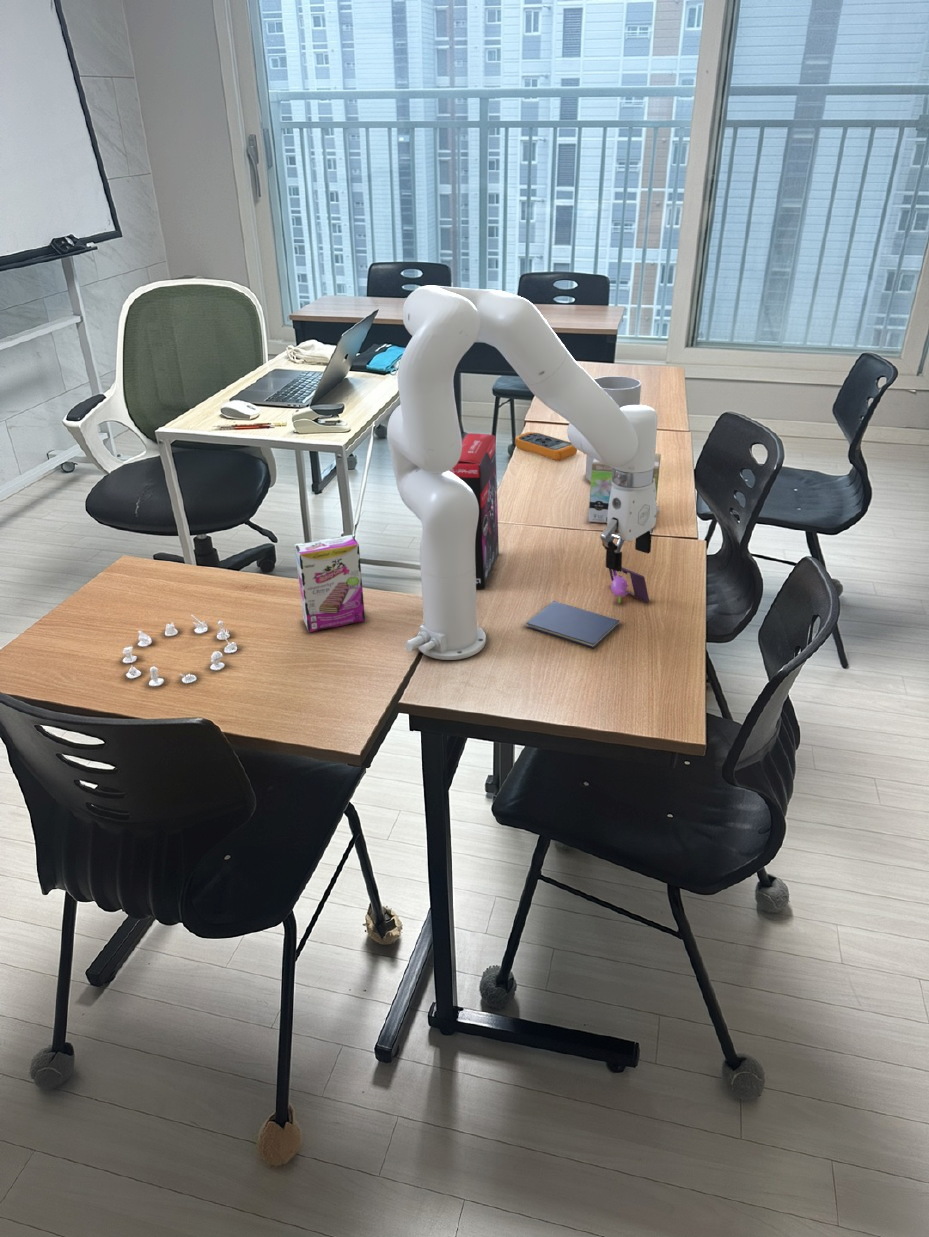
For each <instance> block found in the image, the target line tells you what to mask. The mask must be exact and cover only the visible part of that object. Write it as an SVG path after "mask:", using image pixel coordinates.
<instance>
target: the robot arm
mask: <svg viewBox="0 0 929 1237" xmlns="http://www.w3.org/2000/svg"><path fill="white" fill-rule="evenodd" d="M401 313H402V314H401V315H402V317H401V318H402V321H403V326H404V327H405V329H406V330H407V332H408V333H409V335H411V336H412V337H411V339H410V340H409V342H408V344H407V345H406V347H405V349H404V351H403V353H402V355H401V358H400V360H399V364H398V369H397V388H398V394H399V395H398V396H399V402H400V403H399V405H398V406H396V408H394V409H393V411H392V413H391V415H390V417H389V419H388V422H387V429H386V437H387V445H388V449H389V454H390V459H391V464H392V469H393V470H392V471H393V473H394V480H395V483H396V487H397V491H398V494H399V497H400V499H401V501H402V503H403V504H404V505H405V506H406V508H407V509H408V510H409V511H410V512H412V514H414V515H415V517H416V518H417V519H418V520H419V521H420V523H421V527H422V530H421V531H422V532H421V538H420V543H419V567H420V580H421V581H420V583H421V596H422V597H421V598H422V599H421V600H422V615H423V624H421V625H419V631H418V633H417V634H416V636H415V637H412V638H411V639H409V640H406V641H405V643H404V648H405V650H406V651H407V652H409V653H411V652H413V651H415V650H417V649H418V651H419V652H420V653H422V654H423V655H425V656H426V657H429V658H432V659H436V660H441V661H457V660H463V659H467V658H470V657H473V656H475V655H476V654H478V653H480V652H481V651H482V650H483V649H484V647H485V646H486V643H487V635H486V632H485V631H484V630H483V628H481V627H480V626H479V625H478V614H477V612H478V610H477V589H476V566H475V538H476V529H477V524H478V517H479V506H478V501H477V498H476V496H475V494H474V493H473V491H472V490H471V488H470V487H469V486H468V485H467V484H466V483H465V482H464V481H463V480H461V479H460V478H459V477H457V476H456V475H455V474H453V473H452V472H450V471H449V470H451V469H452V468H454V467H455V466H456V464H457V463H458V461H459V459H460V456H461V452H462V439H463V437H462V433H461V428H460V422H459V416H458V410H457V404H456V397H455V388H454V379H455V378H454V376H455V372H456V369H457V366H458V364H459V363H460V361H461V360H462V358H463V356H464V355H466V353H467V352H468V351H469V350H470V349H471V347H472V346H473V345H474V344H475V343H484V344H487V345H489V346H491V347H494V348H495V349H496V350H497V351H498V352H499V353H500V354H501V355H502V357H503V358H505V360H506V362H507V363H508V364H509V365H510V366H511V367H512V369H513V370H514V371H515V372H516V374H517V375H518V376H519V377H520V379H521V380H522V381H523V383H524V385H526V387H527V388H528V389H529V390H530V392H531V393H532V395H533V396H535V397H536V399H538V400H539V401H540V402H541V403H543V405H545V406H546V407H548V408H549V409H550V410H552V411H553V412H554V413H555V414H558V415H559V416H561V417H563V419H565V420H566V421H567V422H568V426H567V430H566V431H567V432H566V433H567V434H566V435H567V438H568V442H570V443H571V444H572V445H573V446H574V447H575V448H576V449H577V451H579V452H580V453H583V454H584V455H588V456H590V457H592V458H594V459H596V460H598V461H599V462H601V463H603V464H605V465H607V466H610V467H612V485H613V486H612V488H611V493H610V499H609V506H608V516H607V523H606V527H605V528H604V530H602V532H601V533H600V537H599V538H600V540H601V542H602V547H603V548H604V550H605V568H606V569H608V570H609V569H611V570H612V571H613V570H615V571H616V572H617V573H618V572H620V571H621V569H622V567H623V551H621V550H622V547H623V545H624V543H625V542H626V543H629V542H632V541H634V540H635V542H634V544H635V546H634V549H635V551H637V552H641V553H645V554H647V555H648V554H650V553H651V551H652V539H653V538H652V536H653V533H654V531H655V529H654V527H655V526H656V524H657V523H656V522H657V515H658V512H659V506H658V505H657V499H656V486H655V480H654V465H655V454H656V451H657V450H656V448H657V437H658V436H657V434H658V433H657V432H658V419H659V418H658V413H657V411H656V410H655V409H654V408H653V407H651V406H647V405H642V404H640V405H629V406H625V407H622V408H619V406H618V405H617V404H616V403H615V402H614V400H613V399H612V398H611V397H610V396H609V395H608V394H607V393H606V392H605V391H604V390H603V389H602V388H601V387H600V386H599V385H598V384H597V383H596V382H595V381H594V380H593V379H594V378H593V377H592V376H591V375H590V374H589V373H588V372H587V371H586V370H585V369H584V368H583V367H582V366H581V365H580V364H579V363H578V362H577V361H576V360H575V358H574V357H573V356H572V354H571V353H570V352H569V350H568V349H567V348H566V346H565V344H564V343H563V342H562V341H561V339H560V338H559V337H558V335H557V334H556V332H555V331H554V330H553V328H552V327H551V326H550V324H549V323H548V321H547V319H545V317H544V316H543V314H542V313H541V312H540V310H539V309H538V308H537V307H536V306H535V305H534V304H533V303H532V302H531V301H529V299H526V298H525V297H521V296H520V295H516V294H513V293H510V292H507V291H504V290H498V289H485V288H469V287H456V286H444V285H443V286H442V285H424V286H420V287H418V288H416V289H414V290H413V291H411V293H410V294H409V295H408V296H407V298H406V299H405V301H404V304H403V306H402V312H401ZM614 540H617V542H616V544H615V543H614ZM621 572H622V571H621Z"/></svg>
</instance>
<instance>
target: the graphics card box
mask: <svg viewBox="0 0 929 1237" xmlns="http://www.w3.org/2000/svg"><path fill="white" fill-rule="evenodd" d="M496 444H497V443H496V435H494V434H489V433H488V434H487V433H477V432H476V433H475V432H474V433H473V432H465V434H464V436H463V437H462V452H461V456H460V459H459V461H458V463H457V464H456V466H455V467H454V468H452V469H451V470H449V471H450V472H452V473H453V474H455V475H456V476H457V477H459V478H460V479H461V480H463V481H464V482H465V483H466V484H467V485H468V486H469V487H470V488H471V490H472V491H473V493H474V494H475V496H476V498H477V501H478V506H479V517H478V524H477V529H476V538H475V566H476V590H478V589H479V590H485V589H486V586H487V584H488V581H489V578H490V576H491V574H492V571H493V569H494V566H495V564H496V561H497V559H498V556H499V554H500V550H499V549H500V546H499V512H498V509H499V508H498V481H497V480H498V479H497V448H496V447H497V446H496Z"/></svg>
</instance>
